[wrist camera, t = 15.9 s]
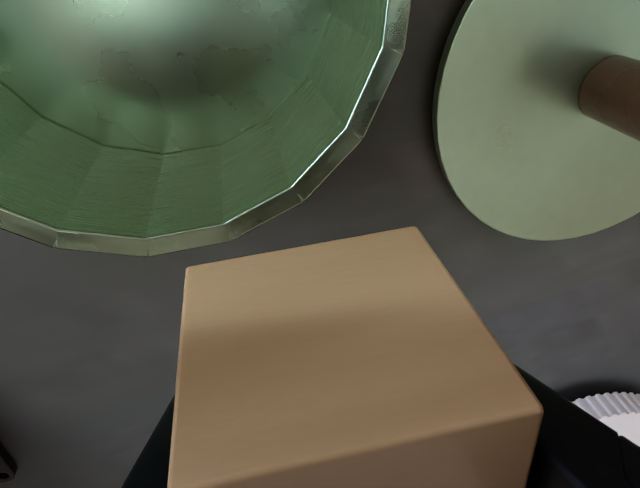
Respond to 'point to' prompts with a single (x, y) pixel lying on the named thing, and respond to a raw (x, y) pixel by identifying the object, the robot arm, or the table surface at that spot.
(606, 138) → the lid
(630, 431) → the plastic lid
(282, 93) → the pot
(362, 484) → the cube
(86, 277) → the table surface
